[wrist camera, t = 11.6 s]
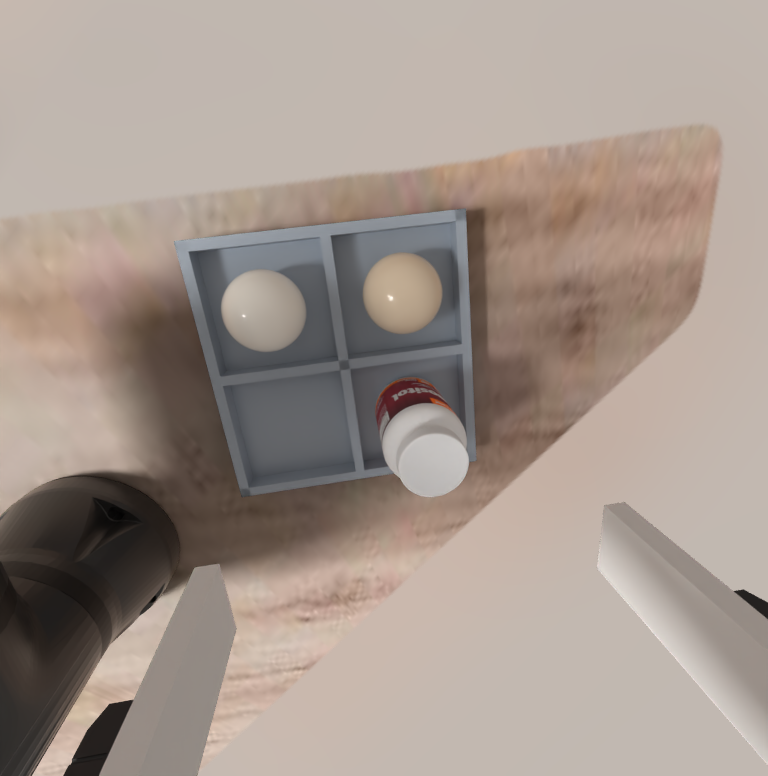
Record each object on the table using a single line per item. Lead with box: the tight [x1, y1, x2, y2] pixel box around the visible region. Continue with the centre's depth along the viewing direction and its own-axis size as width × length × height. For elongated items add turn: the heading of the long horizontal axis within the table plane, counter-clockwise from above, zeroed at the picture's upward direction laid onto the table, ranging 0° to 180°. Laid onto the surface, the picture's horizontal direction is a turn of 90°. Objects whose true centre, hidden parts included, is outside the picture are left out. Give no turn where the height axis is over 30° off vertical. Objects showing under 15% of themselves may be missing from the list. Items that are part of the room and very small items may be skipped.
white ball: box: [221, 269, 306, 352], centre depth 29 cm, size 6×6×6 cm
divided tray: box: [174, 209, 476, 497], centre depth 33 cm, size 21×21×3 cm
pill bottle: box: [375, 377, 469, 497], centre depth 30 cm, size 6×6×11 cm
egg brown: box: [363, 252, 442, 334], centre depth 29 cm, size 6×6×6 cm
